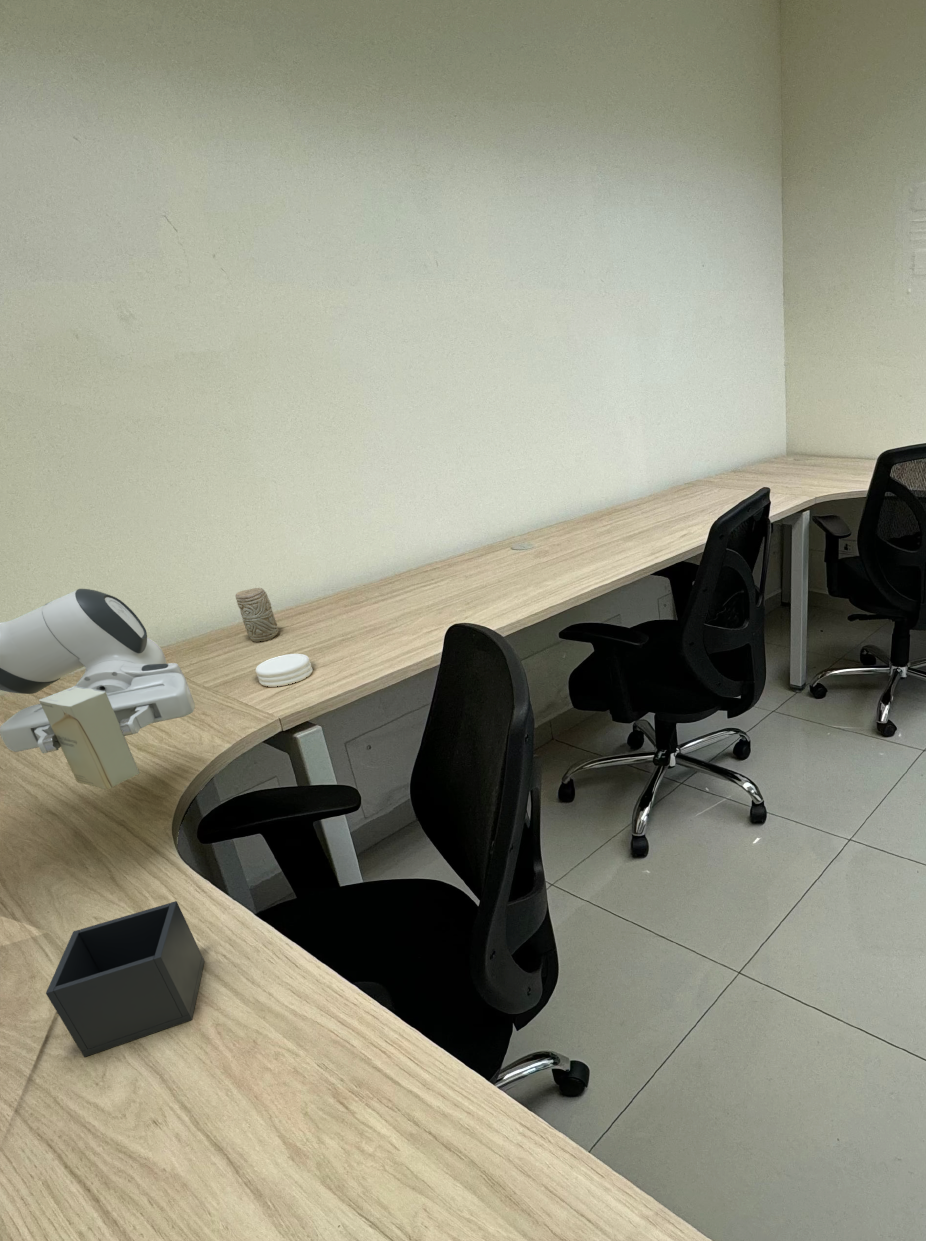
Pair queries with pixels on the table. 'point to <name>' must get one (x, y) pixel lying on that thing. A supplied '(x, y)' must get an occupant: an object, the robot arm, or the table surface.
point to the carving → (257, 614)
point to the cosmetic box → (90, 736)
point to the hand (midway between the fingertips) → (88, 738)
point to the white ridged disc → (284, 670)
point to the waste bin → (127, 978)
